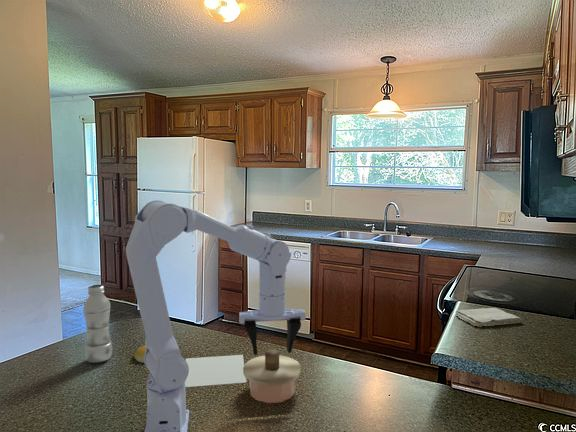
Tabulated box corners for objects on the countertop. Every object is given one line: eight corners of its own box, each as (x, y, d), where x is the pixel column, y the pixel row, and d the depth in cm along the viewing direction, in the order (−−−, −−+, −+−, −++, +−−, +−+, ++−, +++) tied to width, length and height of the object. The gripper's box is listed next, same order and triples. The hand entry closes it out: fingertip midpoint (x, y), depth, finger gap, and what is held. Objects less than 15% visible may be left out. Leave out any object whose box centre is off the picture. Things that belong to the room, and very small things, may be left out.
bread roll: (128, 362, 111) (127, 347, 110) (151, 348, 119) (150, 335, 119) (153, 367, 108) (153, 352, 107) (175, 353, 116) (175, 339, 115)
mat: (246, 384, 99) (246, 382, 99) (181, 389, 97) (181, 387, 97) (242, 356, 114) (242, 354, 114) (185, 360, 111) (185, 358, 111)
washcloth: (452, 317, 146) (453, 308, 146) (496, 313, 151) (496, 304, 151) (476, 330, 135) (476, 320, 135) (522, 325, 139) (523, 316, 139)
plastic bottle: (79, 362, 110) (75, 287, 107) (101, 353, 116) (98, 281, 113) (96, 368, 107) (92, 291, 104) (118, 357, 113) (115, 284, 110)
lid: (307, 381, 90) (307, 362, 90) (247, 388, 88) (247, 368, 87) (293, 355, 103) (293, 338, 103) (240, 360, 100) (239, 343, 100)
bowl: (298, 402, 92) (298, 380, 91) (252, 406, 90) (251, 384, 89) (290, 379, 101) (290, 359, 101) (248, 383, 100) (248, 362, 99)
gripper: (301, 286, 98) (300, 342, 100) (238, 289, 96) (238, 346, 97) (307, 295, 91) (306, 355, 93) (240, 298, 89) (240, 360, 90)
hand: (272, 351), depth 95 cm, fingers open, 7 cm apart
